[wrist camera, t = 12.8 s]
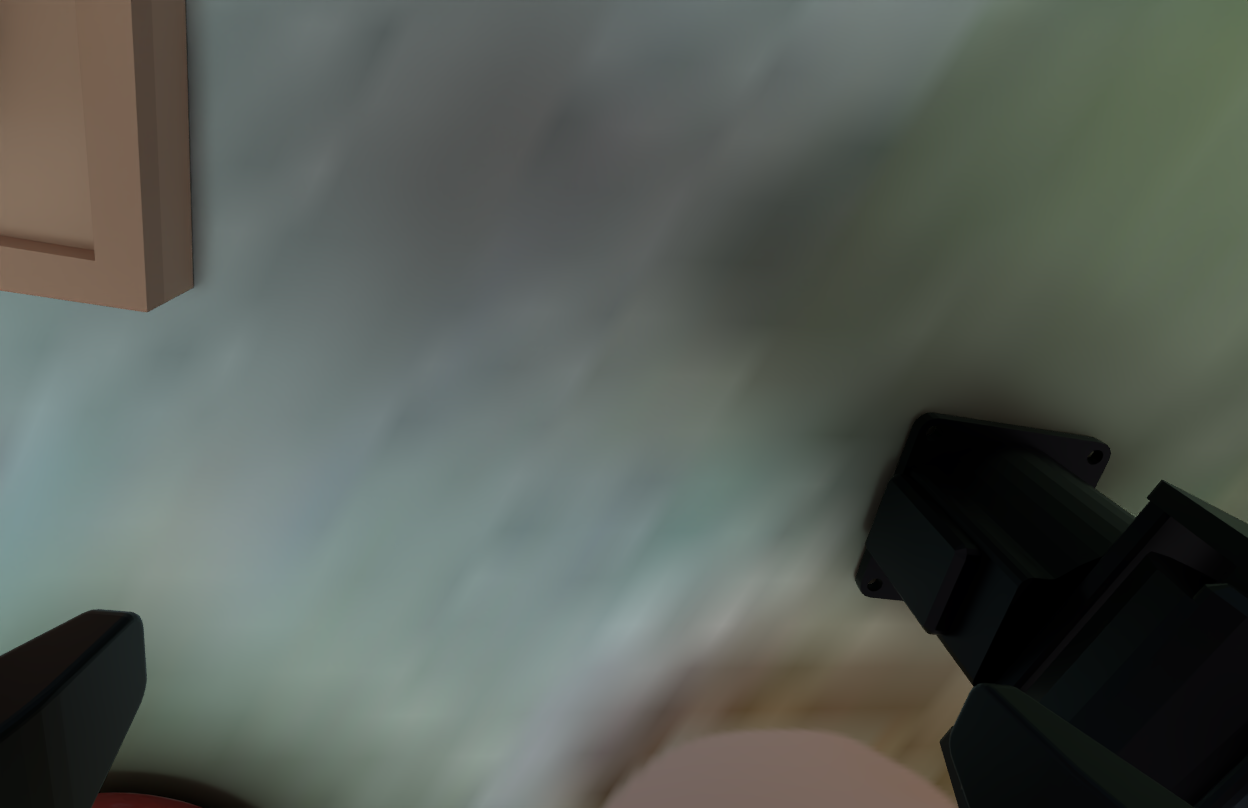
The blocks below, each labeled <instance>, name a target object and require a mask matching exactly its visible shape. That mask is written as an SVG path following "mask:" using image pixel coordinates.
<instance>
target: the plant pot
mask: <svg viewBox="0 0 1248 808" xmlns="http://www.w3.org/2000/svg"><path fill="white" fill-rule="evenodd" d="M92 808H203V807H200V806H196V805H193V804H190V803H187V802H184V801H180V800H175V799H171V798H166V797H161V796H155V795H148V794H139V793H116V792H110V793H98V795H97V797H96V799H95V801H94V804H93V806H92Z"/></svg>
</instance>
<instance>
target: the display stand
mask: <svg viewBox="0 0 1248 808" xmlns="http://www.w3.org/2000/svg"><path fill="white" fill-rule="evenodd" d="M192 288H193V260H192V224H191V188H190V152H189V116H188V80H187V45H186V9H185V0H0V290H1V291H7V292H14V293H21V294H27V295H34V296H41V297H48V298H54V299H61V300H68V301H74V302H81V303H88V304H95V305H101V306H108V307H115V308H121V309H128V310H135V311H142V312H149V311H151V310H152V309H154V308H156V307H158V306H160V305H162V304H164V303H166V302H167V301H169V300H171V299H173V298H175V297H177V296H179V295H180V294H182V293H184V292H186V291H188V290H190V289H192Z"/></svg>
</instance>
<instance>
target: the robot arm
mask: <svg viewBox="0 0 1248 808" xmlns="http://www.w3.org/2000/svg"><path fill="white" fill-rule="evenodd" d="M932 426H936V429H935V430H934V432H933V433H932V434H930V435H926V432H927V430H928V429H929V428H931V427H932ZM1093 451H1094V453H1093V454H1092V455H1091V456H1090V457H1088V455H1089V454H1090V453H1091V452H1093ZM1110 455H1111V451H1110V448H1109V447H1108V445H1106V444H1105V443H1103V442H1102V441H1100V440H1098V439H1096V438H1094V437H1088V436H1081V435H1075V434H1068V433H1062V432H1055V431H1049V430H1042V429H1035V428H1029V427H1022V426H1016V425H1009V424H1003V423H996V422H990V421H983V420H977V419H970V418H964V417H957V416H951V415H944V414H937V413H926V414H924V415H921V416H920V417H919V418H918V419H917V420H916V421H915V422H914V424H913V426H912V429H911V431H910V434H909V437H908V439H907V442H906V444H905V447H904V450H903V452H902V455H901V458H900V460H899V463H898V466H897V468H896V471H895V474H894V476H893V477H892V478H891V479H890V480H889V482H888V485H887V488H886V490H885V493H884V496H883V498H882V501H881V504H880V506H879V509H878V512H877V514H876V517H875V520H874V522H873V525H872V528H871V530H870V533H869V536H868V538H867V541H866V547H867V548H866V551H865V553H864V556H863V559H862V561H861V564H860V566H859V569H858V572H857V574H856V579H855V581H856V584H857V586H858V588H859V589H860V591H861V593H862V594H864V595H865V596H867V597H872V598H881V599H890V600H900V601H904V602H905V603H906V605H907V606H908V607H909V609H910V610H911V612H912V613H913V615H914V616H915V617H916V619H917V620H918V622H919V623H920V624H921V626H922V627H923V629H924V630H925V631H926V632H927V633H928V634H934V635H937V637H938V638H939V639H940V641H941V642H942V643H943V645H944V646H945V648H946V649H947V650H948V652H949V653H950V655H951V656H952V657H953V659H954V660H955V661H956V663H957V664H958V666H959V667H960V668H961V670H962V671H963V673H964V674H965V675H966V677H967V678H968V679H969V681H970V682H971V684H972V685H973V686H974V687H973V688H972V690H971V691H970V693H969V695H968V697H967V699H966V701H965V703H964V706H963V708H962V710H961V712H960V714H959V716H958V718H957V720H956V722H955V724H954V726H952V727H951V728H950V729H949V731H948V732H947V733H946V734H945V735H944V736H943V738H942V739H941V740H940V745H941V749H942V752H943V755H944V759H945V762H946V766H947V769H948V772H949V776H950V779H951V783H952V786H953V790H954V793H955V796H956V800H957V803H958V807H959V808H1248V524H1247V523H1245V522H1243V521H1241V520H1239V519H1238V518H1236V517H1234V516H1232V515H1230V514H1228V513H1226V512H1224V511H1222V510H1220V509H1218V508H1216V507H1214V506H1212V505H1210V504H1209V503H1207V502H1205V501H1203V500H1201V499H1199V498H1197V497H1195V496H1193V495H1191V494H1189V493H1187V492H1185V491H1183V490H1182V489H1180V488H1178V487H1176V486H1174V485H1172V484H1170V483H1168V482H1166V481H1164V480H1161V481H1160V482H1159V484H1158V485H1157V486H1156V487H1155V488H1154V489H1153V491H1152V492H1151V493H1150V494H1149V495H1148V497H1147V499H1148V500H1150V502H1149V503H1148V504H1147V505H1146V506H1145V508H1144V509H1143V510H1142V511H1141V512H1140V513H1139V515H1138V516H1137V517H1136V518H1135V517H1134V516H1133V515H1131V514H1130V513H1128V512H1127V511H1126V510H1124V509H1123V508H1121V507H1120V506H1119V505H1117V504H1116V503H1114V502H1113V501H1112V500H1110V499H1109V498H1107V497H1106V496H1105V495H1103V494H1102V493H1100V492H1099V491H1098V490H1096V489H1095V487H1096V485H1097V483H1098V481H1099V479H1100V477H1101V475H1102V473H1103V471H1104V469H1105V467H1106V465H1107V463H1108V461H1109V458H1110ZM876 578H877V579H876ZM872 579H876V581H875V582H873V583H870V584H868V583H869V581H871V580H872ZM146 681H147V673H146V658H145V643H144V628H143V623H142V620H141V618H140V616H139V615H137V614H136V613H133V612H126V611H114V610H102V609H97V610H90V611H87V612H85V613H82V614H80V615H78V616H76V617H74V618H72V619H71V620H69V621H67V622H65V623H63V624H61V625H59V626H57V627H55V628H53V629H51V630H49V631H47V632H45V633H43V634H42V635H40V636H38V637H36V638H34V639H32V640H30V641H28V642H26V643H24V644H22V645H20V646H18V647H16V648H14V649H13V650H11V651H9V652H7V653H5V654H3V655H1V656H0V808H92V806H93V804H94V801H95V799H96V797H97V795H98V793H99V791H100V789H101V787H102V784H103V782H104V780H105V778H106V776H107V774H108V772H109V770H110V768H111V765H112V763H113V761H114V759H115V757H116V755H117V753H118V751H119V749H120V746H121V744H122V742H123V740H124V738H125V736H126V734H127V732H128V729H129V727H130V725H131V723H132V721H133V719H134V717H135V715H136V713H137V710H138V708H139V706H140V704H141V702H142V699H143V696H144V692H145V688H146Z"/></svg>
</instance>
